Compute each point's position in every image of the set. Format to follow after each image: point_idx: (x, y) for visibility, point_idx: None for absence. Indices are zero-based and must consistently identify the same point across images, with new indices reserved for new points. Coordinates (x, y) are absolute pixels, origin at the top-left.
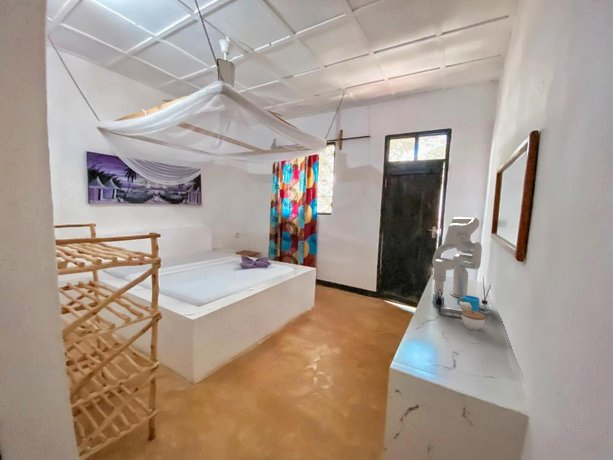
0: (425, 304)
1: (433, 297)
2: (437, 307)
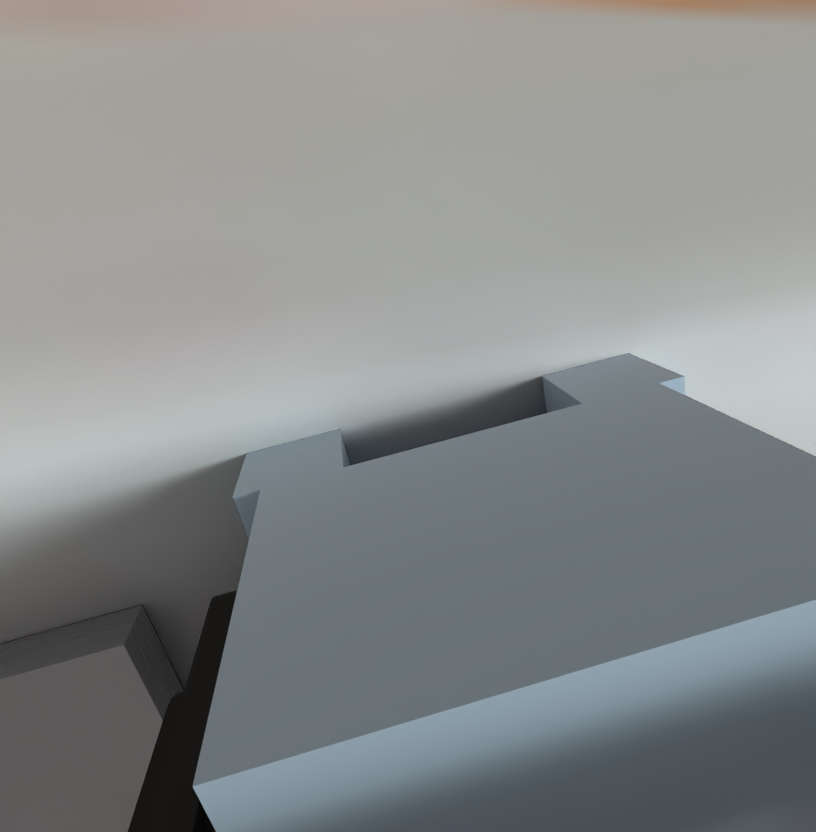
0: (89, 154)
1: (250, 686)
2: (78, 627)
